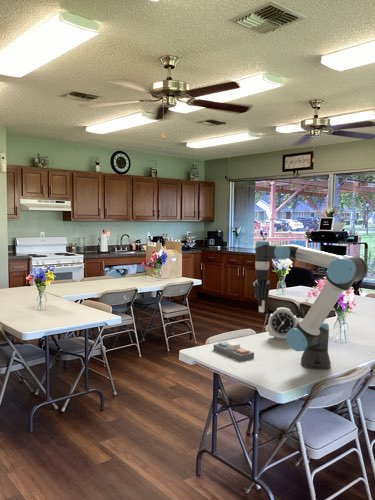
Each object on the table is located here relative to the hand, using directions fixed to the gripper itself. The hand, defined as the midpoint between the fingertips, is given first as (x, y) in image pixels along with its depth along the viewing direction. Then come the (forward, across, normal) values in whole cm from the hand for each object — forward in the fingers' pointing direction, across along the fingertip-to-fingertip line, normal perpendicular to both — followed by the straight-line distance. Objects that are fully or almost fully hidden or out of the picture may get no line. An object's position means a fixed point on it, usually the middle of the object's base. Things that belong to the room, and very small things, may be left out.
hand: (261, 311), depth 236 cm
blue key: (+23, +9, -20) cm, 32 cm away
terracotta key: (+24, +9, -5) cm, 26 cm away
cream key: (+22, +9, -13) cm, 27 cm away
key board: (+25, +9, -13) cm, 29 cm away
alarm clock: (+25, -39, -18) cm, 50 cm away
